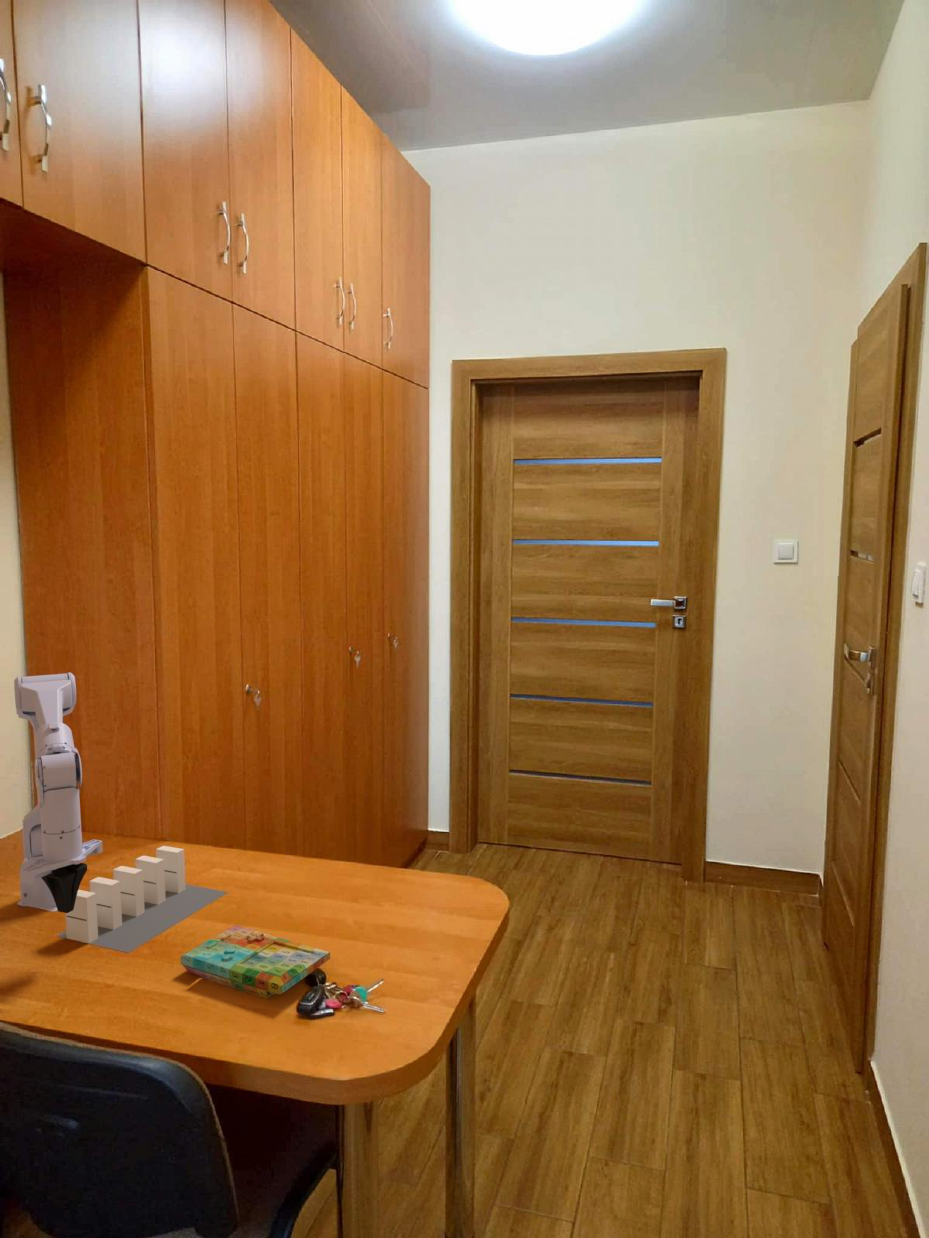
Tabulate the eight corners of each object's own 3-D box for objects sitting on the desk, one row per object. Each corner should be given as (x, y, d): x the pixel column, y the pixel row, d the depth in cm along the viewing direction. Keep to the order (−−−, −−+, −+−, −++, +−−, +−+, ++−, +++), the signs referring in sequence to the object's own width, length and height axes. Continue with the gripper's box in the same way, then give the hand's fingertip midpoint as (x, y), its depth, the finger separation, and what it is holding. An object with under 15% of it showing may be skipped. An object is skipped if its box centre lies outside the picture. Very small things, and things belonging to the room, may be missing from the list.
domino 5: (178, 893, 168) (176, 852, 168) (157, 889, 170) (156, 849, 170) (185, 889, 170) (184, 849, 169) (165, 885, 172) (163, 845, 171)
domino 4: (157, 904, 163) (156, 862, 162) (137, 900, 165) (135, 859, 164) (165, 900, 165) (164, 859, 164) (145, 896, 167) (143, 855, 166)
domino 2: (113, 929, 153) (111, 885, 152) (91, 924, 155) (89, 880, 154) (122, 924, 155) (120, 880, 154) (100, 919, 157) (98, 876, 156)
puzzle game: (233, 920, 148) (329, 946, 139) (234, 947, 149) (330, 975, 139) (180, 950, 138) (281, 980, 129) (181, 978, 138) (282, 1011, 129)
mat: (55, 938, 151) (55, 935, 151) (162, 882, 175) (162, 879, 175) (128, 956, 145) (128, 952, 145) (228, 895, 169) (228, 892, 169)
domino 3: (136, 916, 158) (134, 873, 158) (115, 912, 160) (113, 869, 159) (144, 912, 160) (142, 869, 159) (123, 907, 162) (121, 865, 161)
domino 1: (88, 943, 148) (86, 897, 147) (66, 938, 150) (64, 893, 149) (98, 938, 150) (96, 892, 149) (76, 933, 152) (73, 888, 151)
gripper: (42, 846, 132) (47, 934, 133) (115, 817, 145) (118, 896, 146) (8, 840, 134) (13, 926, 136) (82, 812, 148) (86, 890, 149)
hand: (65, 910), depth 141 cm, fingers closed
